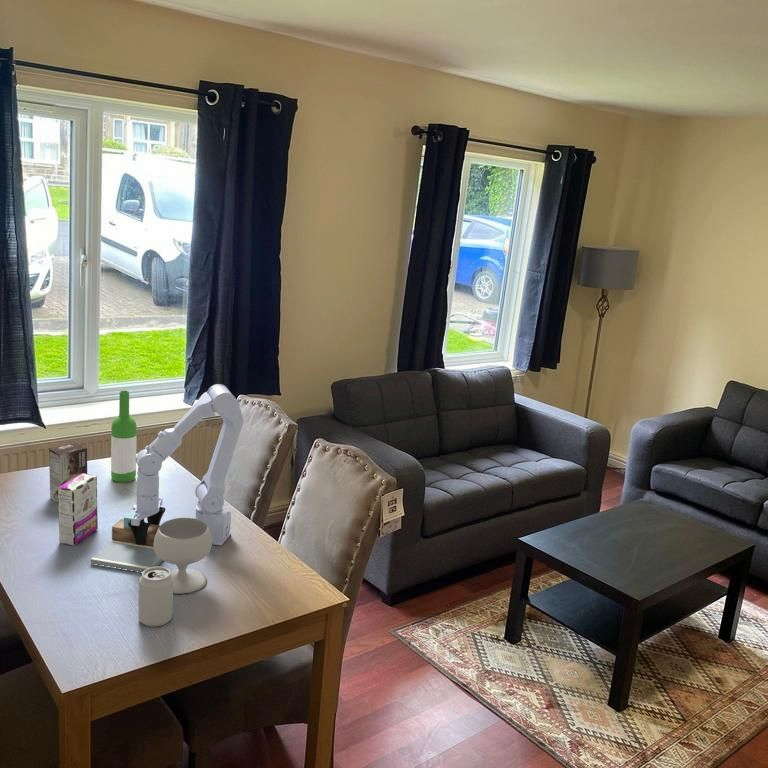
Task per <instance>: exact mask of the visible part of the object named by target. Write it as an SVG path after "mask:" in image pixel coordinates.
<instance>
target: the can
mask: <svg viewBox="0 0 768 768" xmlns="http://www.w3.org/2000/svg"><path fill="white" fill-rule="evenodd" d="M173 604H174V593H173V576H172V575H171V571H170V569H169V568H167V567H165V566H157V567H151V568H148V569H146V570H144V571H143V573H141V576H140V577H139V579H138V620H139V622H140V623H142V624H143V625H144V626H147V627H151V628H157V627H158V628H159V627H162V626H163V625H166V624H167V623H168V622H169V621H170V620H172V618H173V612H174V611H173V608H174V607H173V606H174V605H173Z"/></svg>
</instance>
